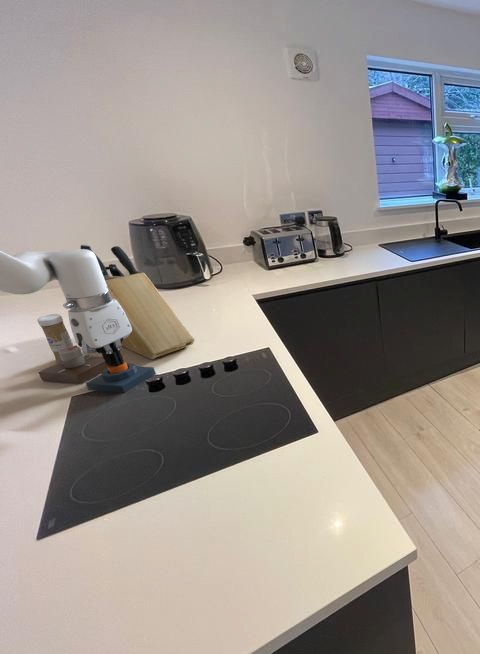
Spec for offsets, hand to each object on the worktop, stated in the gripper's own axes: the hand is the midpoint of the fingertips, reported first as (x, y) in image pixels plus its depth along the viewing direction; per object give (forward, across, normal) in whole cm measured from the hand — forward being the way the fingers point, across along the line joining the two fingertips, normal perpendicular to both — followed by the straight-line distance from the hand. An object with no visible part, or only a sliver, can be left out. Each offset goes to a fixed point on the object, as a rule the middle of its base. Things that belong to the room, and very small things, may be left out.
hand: (115, 364), depth 105 cm
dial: (+3, +2, +15) cm, 15 cm away
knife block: (+6, +21, +14) cm, 26 cm away
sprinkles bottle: (+6, +9, +27) cm, 29 cm away
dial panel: (+6, +2, +15) cm, 16 cm away
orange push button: (+2, 0, 0) cm, 2 cm away
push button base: (+6, 0, 0) cm, 6 cm away
